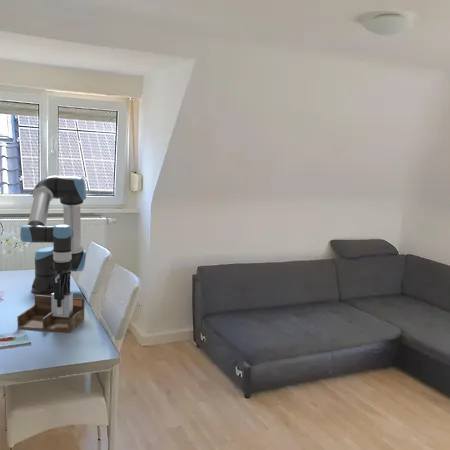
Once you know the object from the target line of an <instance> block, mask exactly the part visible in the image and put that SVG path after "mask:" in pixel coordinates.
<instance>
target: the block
mask: <svg viewBox="0 0 450 450" xmlns="http://www.w3.org/2000/svg"><path fill="white" fill-rule="evenodd" d="M50 296H51V311H52V316H57V317H70V316H71V315H73V298H74V294H73V292H70V293H67V292H63V298H62V299H63V314H57V300H55V299H54V293H50Z"/></svg>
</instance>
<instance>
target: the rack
mask: <svg viewBox="0 0 450 450" xmlns="http://www.w3.org/2000/svg"><path fill="white" fill-rule="evenodd" d="M84 320H85V298H78V297H73V315H71V316H70V317H57V316H52V311H51V295H45V294H34V304H33V305H32V306H30V307H29V308H28V309H26V310H25V311H23V312H21V313H20V314H19V315H17V320H16V321H17V329H18V330H19V329H20V330H33V331H45V332H56V333H66V334H70V333H71V332H72V331H73V330H75V329H76V328H77V327H78V326H79V325H80V324H81V323H82V322H83V321H84Z"/></svg>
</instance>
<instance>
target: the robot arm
mask: <svg viewBox="0 0 450 450" xmlns="http://www.w3.org/2000/svg"><path fill="white" fill-rule="evenodd" d="M85 183H86V181H85V179H84V178H83V177H82V176H75V175H74V176H72V175H68V176H67V175H50V176H46V177H44V178H43V179H42V180H40V181H39V182H38V183H37V184H36V185H35V187H34V189H32V190H33V191H32V198H33V200H32V204H31V210H30V214H29V218H28V222H27V224H26V225H22V226H21V227H20V233H19V236H20V240H21V242H23V243H29V244H30V243H31V244H32V243H34V244H35V243H40V244H41V243H48V244H49V243H51V244H52V243H53V244H52V245H53V246H48V247H47V246H46V247H43V248H39V249H37V250H36V251H35V253H34V258H33V259H34V279H33V281H32V285H31V292H32V293H34V294H37V295H47V294H48V295H49V294H50V295H51V294H52V293H54V299H55V300H57V314H63V299H62V298H63V292H67V293H71V275H72V272H75V273H76V272H83V271H84V269H85V265H86V258H87V250H85V249H84V246H83V245H82V241H81V240H82V236H81V234H82V230H81V228H82V227H81V226H82V225H81V223H82V222H81V205H82V204H83V203H84V201H85V200H86V199H87V187H86V184H85ZM53 199H59V202H60V204H62V207H63V224H56V225H47V220H48V213H49V209H50V203H51V201H53Z"/></svg>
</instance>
